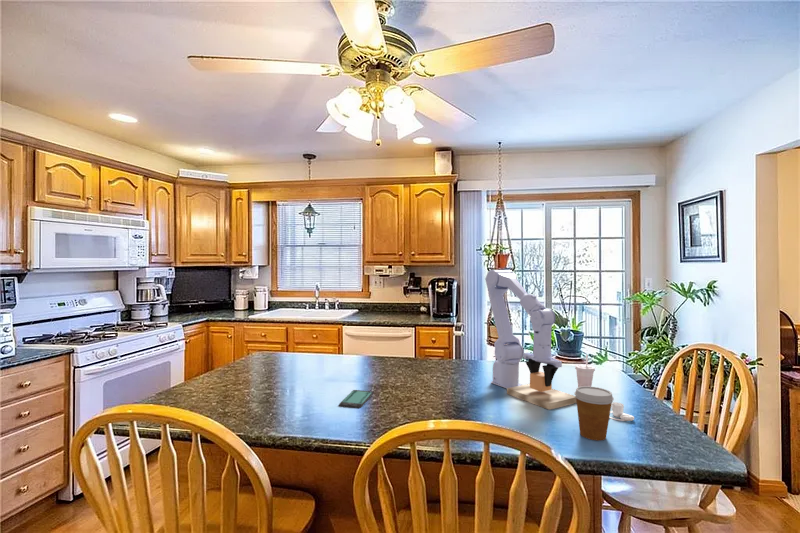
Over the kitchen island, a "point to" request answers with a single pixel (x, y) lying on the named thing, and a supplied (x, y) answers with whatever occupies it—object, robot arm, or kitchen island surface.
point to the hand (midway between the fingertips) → (541, 383)
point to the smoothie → (584, 374)
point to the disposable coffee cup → (593, 411)
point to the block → (538, 382)
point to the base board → (542, 396)
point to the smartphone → (356, 399)
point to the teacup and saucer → (620, 412)
